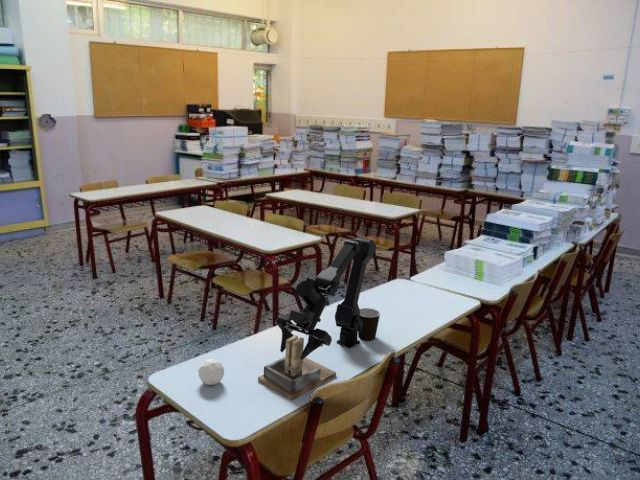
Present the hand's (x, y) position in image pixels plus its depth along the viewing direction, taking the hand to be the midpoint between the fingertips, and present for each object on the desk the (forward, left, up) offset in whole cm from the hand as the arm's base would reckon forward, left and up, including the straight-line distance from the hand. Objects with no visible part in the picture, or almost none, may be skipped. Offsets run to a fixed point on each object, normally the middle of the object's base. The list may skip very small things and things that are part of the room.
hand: (291, 355), depth 157 cm
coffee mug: (-44, -4, -9) cm, 46 cm away
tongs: (-1, 0, -8) cm, 8 cm away
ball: (+18, -17, -9) cm, 26 cm away
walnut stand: (-3, 0, -9) cm, 10 cm away
